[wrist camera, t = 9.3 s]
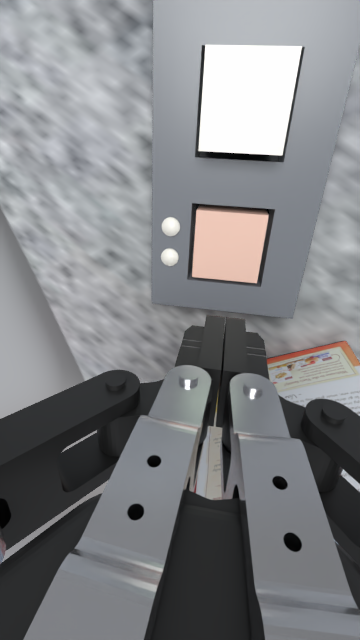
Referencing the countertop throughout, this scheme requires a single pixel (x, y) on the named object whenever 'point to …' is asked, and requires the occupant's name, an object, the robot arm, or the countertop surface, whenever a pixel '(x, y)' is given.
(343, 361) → the cracker box
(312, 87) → the keypad
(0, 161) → the countertop surface
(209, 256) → the rose key
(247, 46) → the cream key
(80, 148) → the countertop surface
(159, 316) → the countertop surface
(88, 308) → the countertop surface
